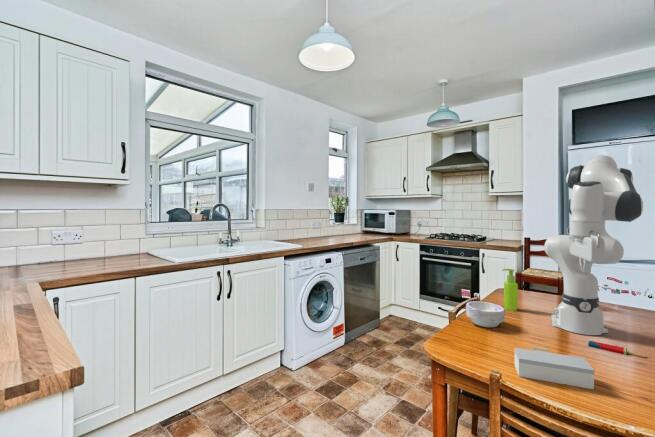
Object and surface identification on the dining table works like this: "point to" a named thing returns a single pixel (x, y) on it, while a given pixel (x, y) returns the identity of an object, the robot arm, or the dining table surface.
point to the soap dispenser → (510, 292)
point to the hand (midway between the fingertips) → (585, 272)
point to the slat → (540, 349)
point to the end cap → (554, 368)
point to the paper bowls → (485, 313)
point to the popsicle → (612, 348)
